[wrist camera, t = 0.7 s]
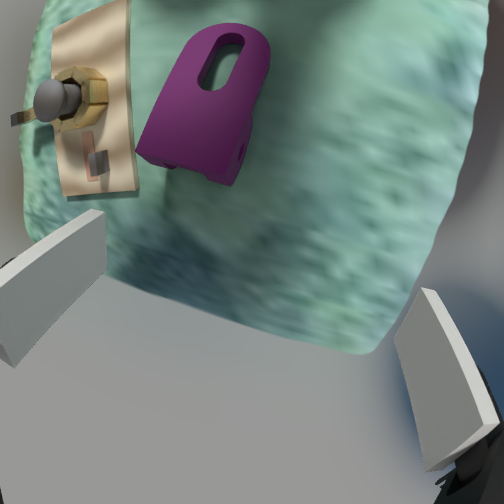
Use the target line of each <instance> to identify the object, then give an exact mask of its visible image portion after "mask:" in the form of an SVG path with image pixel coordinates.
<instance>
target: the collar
mask: <svg viewBox="0 0 504 504" xmlns="http://www.w3.org/2000/svg"><path fill="white" fill-rule="evenodd" d="M54 79H58V80H60V81H61V82H62V83H63V84H77V83H79V84H80V85H81V91H82V104H81V105H80V107H79V109H78V111H77V112H76V114H74V113H70V114H62V115H60V116H59V117H58V118H57V119H56V120H54V121H51V122H50V123H51V124H52V125H53V126H54V127H55V128H56V130H57V131H58V132H59V131H60V132H64V131H69V130H74V129H80V128H84V127H88V126H92V125H94V123H97V122H98V120H99V118H100V117H101V115H102V114H103V112H104V110H105V109H106V107H107V106H108V105H107V104H106V103H107V102H109V100H108V81H105V80H106V79H107V78H105V77H104V76H103V75H102V74H101V73H99V72H98V71H97V70H96V69H94V68H88V67H77V66H73V67H70V68H68V69H66V70H63V71H61V72H59V73H58V75H55V77H54ZM36 119H37V117H36V115H35V113H34V107H32V108H30V109H28V110H25V111H23V112H17V113H15V114H13V115H11V126H17V125H22V124H26V123H29V122H31V121H34V120H36Z"/></svg>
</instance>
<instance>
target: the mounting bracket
mask: <svg viewBox="0 0 504 504" xmlns="http://www.w3.org/2000/svg"><path fill="white" fill-rule="evenodd" d="M228 43H237V44H240V45H242V46H243V49H242V51H241V53H240V55H239V57H238V60H237V62H236V64H235V66H234V68H233V70H232V73H231V75H230V77H229V79H228V81H227V83H226V85H225V86H224V87H222V88H221V89H219V90H216V91H206V90H203V89H202V88H201V85H202V83H203V81H204V78H205V76H206V74H207V72H208V70H209V68H210V66H211V64H212V62H213V60H214V58H215V56H216V54H217V52H218V50H219V49H220V48H221V47H222V46H223V45H225V44H228ZM269 65H270V46H269V43H268V41H267V40H266V38H265V37H264V36H263V35H262V34H261V33H260V32H259V31H257V30H256V29H254V28H252V27H249V26H247V25H243V24H238V23H223V24H217V25H213V26H210V27H207V28H205V29H203V30H201V31H199V32H198V33H196V34H195V35H194V36H193V37H192V38H191V39H190V40H189V41H188V42H187V44H186V45H185V47H184V49H183V50H182V52H181V54H180V56H179V58H178V59H177V61H176V63H175V65H174V67H173V69H172V71H171V73H170V75H169V77H168V79H167V81H166V82H165V85H164V87H163V89H162V91H161V93H160V95H159V97H158V99H157V101H156V103H155V105H154V108H153V110H152V112H151V114H150V116H149V119H148V121H147V123H146V126H145V128H144V130H143V133H142V135H141V137H140V140H139V142H138V145H137V147H136V150H135V152H136V153H137V154H138V155H140V156H141V157H142V158H144V159H145V160H146V161H147V162H149V163H150V164H152V165H156V166H160V167H164V168H168V169H174V168H176V167H181V168H185V169H188V170H192V171H195V172H199V173H202V174H204V175H205V176H206V177H207V179H208V180H210V181H213V182H217V183H220V184H224V185H227V186H232V184H233V183H234V181H235V179H236V177H237V175H238V173H239V170H240V168H241V165H242V162H243V159H244V156H245V152H246V149H247V145H248V142H249V139H250V134H251V129H252V112H253V108H254V105H255V103H256V100H257V98H258V95H259V93H260V90H261V87H262V85H263V82H264V80H265V77H266V75H267V72H268V69H269Z"/></svg>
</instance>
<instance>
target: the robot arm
mask: <svg viewBox="0 0 504 504" xmlns="http://www.w3.org/2000/svg"><path fill="white" fill-rule="evenodd" d="M106 270H107V253H106V229H105V212H103V211H98V210H94V209H90V210H88V211H87V212H85V213H83V214H82V215H80V216H78V217H77V218H75V219H73V220H72V221H70V222H68V223H67V224H65V225H64V226H62V227H61V228H59V229H57V230H56V231H54V232H53V233H51V234H50V235H48V236H47V237H45V238H44V239H42V240H41V241H39V242H38V243H36V244H35V245H33V246H32V247H30V248H29V249H27V250H26V251H25V252H23V253H22V254H20V255H19V256H17V257H15V258H12V259H10V260H9V261H8V262H6V263H5V264H4V265H2V267H1V268H0V358H1V359H2V360H3V361H4V362H6V363H7V364H9V365H10V366H12V367H13V368H15V367H16V366H17V365H18V364H19V362H20V361H21V360H22V359H23V358H24V356H25V355H26V354H27V353H28V352H29V351H30V349H31V348H32V347H33V346H34V345H35V344H36V342H37V341H38V340H39V339H40V338H41V337H42V336H43V335H44V334H45V333H46V331H47V330H48V329H49V328H50V327H51V326H52V325H53V324H54V323H55V322H56V321H57V319H58V318H59V317H60V316H61V315H62V314H63V313H64V312H65V311H66V310H67V309H68V308H69V307H70V306H71V305H72V304H73V303H74V302H75V301H76V299H77V298H78V297H80V296H81V295H82V294H83V293H84V292H85V290H86V289H87V288H89V287H90V286H91V285H92V284H93V283H94V282H95V281H96V280H97V279H98V278H99V276H101V275H102V274H103V273H104V272H105V271H106ZM393 339H394V342H395V346H396V349H397V352H398V356H399V359H400V363H401V366H402V370H403V373H404V377H405V381H406V384H407V388H408V392H409V396H410V400H411V404H412V408H413V413H414V417H415V421H416V426H417V431H418V436H419V440H420V446H421V451H422V457H423V463H424V469H425V472H431V471H438V470H443V469H444V468H446V467H447V466H448V465H450V464H451V463H453V462H454V461H455V465H456V468H455V469H453V470H452V471H450V472H449V473H448V474H446V475H445V476H443V477H442V478H440V479H439V480H438V481H437V482H436V483H435V485H438V484H440V483H441V482H443V481H444V480H446V481H445V483H444V484H443V485H442V486H440V488H441V489H442V490H441V491H440V493H439V495H438V497H437V498H436V500H435V502H434V504H504V422H503V419H502V416H501V414H500V411H499V408H498V406H497V404H496V401H495V399H494V397H493V395H491V393H492V392H491V390H490V387H489V386H488V383H487V380H486V378H485V376H484V374H483V372H482V371H481V370H480V369H479V367H478V366H477V365H476V363H475V362H474V361H473V359H472V357H471V355H470V353H469V351H468V349H467V347H466V345H465V343H464V341H463V339H462V337H461V335H460V333H459V331H458V330H457V328H456V326H455V324H454V322H453V320H452V319H451V317H450V315H449V313H448V312H447V310H446V308H445V306H444V305H443V303H442V301H441V300H440V298H439V296H438V295H437V293H436V292H435V291H434V290H429V289H426V288H422V287H421V288H420V290H419V292H418V294H417V296H416V298H415V300H414V302H413V304H412V306H411V307H410V309H409V311H408V313H407V315H406V317H405V318H404V320H403V322H402V324H401V325H400V327H399V329H398V331H397V332H396V334H395V336H394V337H393ZM0 504H4V503H3V499H2V494H1V489H0Z"/></svg>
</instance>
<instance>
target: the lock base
mask: <svg viewBox="0 0 504 504" xmlns="http://www.w3.org/2000/svg"><path fill="white" fill-rule="evenodd" d="M130 13H131V0H116V1H113V2H110V3H108V4H105V5H103V6H100V7H98V8H96V9H93V10H91V11H89V12H86V13H84V14H82V15H80V16H78V17H76V18H73V19H71V20H69V21H67V22H65V23H63V24H61V25H59V26H58V27H56V28H54V29H53V36H52V56H51V79H48V80H45V81H44V82H42V83H41V85H40V86H39V87H38V89H37V91H36V93H35V96H34V102H33V107H34V113H35V115H36V117H37V119H38V120H39V121H41V122H51V121H54V120H56V119H57V118H58V117H59V116H60V115H62V114H70V113H74V114H76V112H77V111H78V109H79V107H80V105H81V104H82V91H81V85H80V84H79V83H77V84H63V83H62V82H61V81H60V80H58V79H54V77H55V75H58V73H59V72H61V71H63V70H66V69H68V68H70V67H73V66H77V67H88V68H94V69H96V70H97V71H98V72H99V73H101V74H102V75H103V76H104V77H105V78H107V79H106V80H105V81H108V100H109V102H107V103H106V104H107V105H108V106H107V107H106V109H105V110H104V112H103V114H102V115H101V117H100V118H99V120H98V122H97V123H94V125H92V126H88V127H84V128H80V129H74V130H69V131H64V132H60V131H59V132H58V131H57V130H56V128H55V127H54V126H53V127H54V138H55V147H56V155H57V162H58V169H59V176H60V182H61V188H62V193H63V197H64V196H73V195H84V194H94V193H106V192H119V191H134V190H137V189H139V181H138V172H137V164H136V155H135V145H134V134H133V121H132V106H131V86H130Z"/></svg>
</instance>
